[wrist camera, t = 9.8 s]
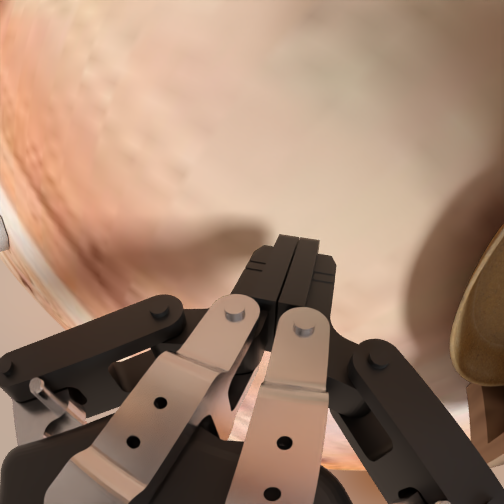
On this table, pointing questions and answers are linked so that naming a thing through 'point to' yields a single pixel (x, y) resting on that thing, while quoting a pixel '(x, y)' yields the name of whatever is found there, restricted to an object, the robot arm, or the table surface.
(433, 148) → the table surface
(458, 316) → the plant saucer
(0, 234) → the flask
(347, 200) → the table surface
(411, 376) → the robot arm
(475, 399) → the walnut shelf
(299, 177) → the table surface
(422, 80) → the table surface
